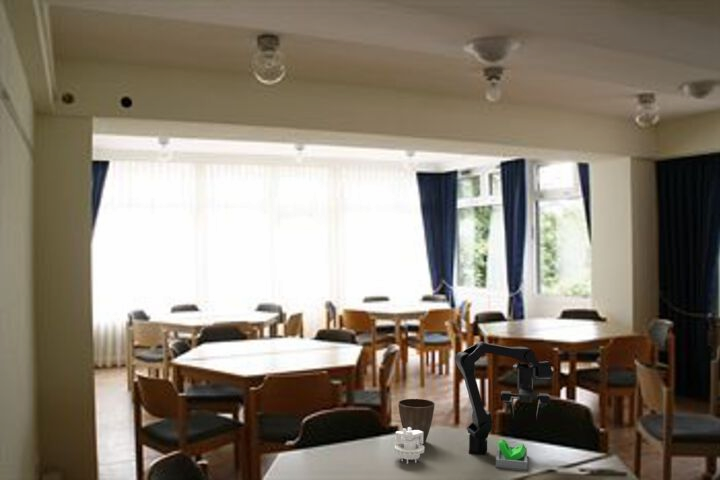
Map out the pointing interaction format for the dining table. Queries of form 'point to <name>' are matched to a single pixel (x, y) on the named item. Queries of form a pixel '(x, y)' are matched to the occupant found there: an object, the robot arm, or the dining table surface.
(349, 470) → the dining table surface
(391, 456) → the dining table surface
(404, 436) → the mechanical part
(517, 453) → the mechanical part
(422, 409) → the plant pot
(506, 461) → the parts tray
